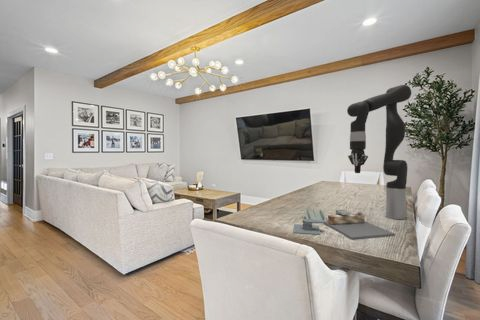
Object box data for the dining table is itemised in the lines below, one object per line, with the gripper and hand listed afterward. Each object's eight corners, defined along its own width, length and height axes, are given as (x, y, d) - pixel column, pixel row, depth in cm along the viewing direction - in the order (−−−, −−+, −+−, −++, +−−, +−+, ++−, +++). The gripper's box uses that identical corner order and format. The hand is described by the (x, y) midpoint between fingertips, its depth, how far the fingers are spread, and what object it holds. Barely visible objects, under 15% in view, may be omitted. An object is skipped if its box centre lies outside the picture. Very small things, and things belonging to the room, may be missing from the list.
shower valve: (326, 224, 105) (293, 222, 109) (326, 236, 106) (293, 234, 109) (323, 217, 117) (293, 215, 121) (323, 227, 118) (293, 225, 121)
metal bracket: (300, 207, 136) (326, 207, 135) (300, 215, 138) (325, 216, 136) (304, 221, 123) (333, 221, 121) (303, 230, 125) (332, 231, 123)
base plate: (358, 220, 128) (358, 208, 128) (394, 235, 104) (395, 221, 104) (322, 222, 124) (322, 211, 124) (351, 239, 100) (351, 225, 100)
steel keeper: (343, 220, 125) (343, 209, 124) (351, 224, 118) (351, 212, 118) (335, 221, 124) (335, 210, 124) (343, 224, 117) (343, 213, 117)
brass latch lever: (360, 220, 124) (360, 213, 124) (366, 222, 119) (366, 215, 119) (327, 222, 121) (327, 215, 121) (332, 224, 117) (332, 217, 117)
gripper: (373, 139, 116) (372, 174, 116) (355, 141, 129) (355, 171, 129) (360, 140, 114) (359, 174, 115) (343, 141, 127) (343, 172, 128)
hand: (357, 173), depth 122 cm, fingers closed
